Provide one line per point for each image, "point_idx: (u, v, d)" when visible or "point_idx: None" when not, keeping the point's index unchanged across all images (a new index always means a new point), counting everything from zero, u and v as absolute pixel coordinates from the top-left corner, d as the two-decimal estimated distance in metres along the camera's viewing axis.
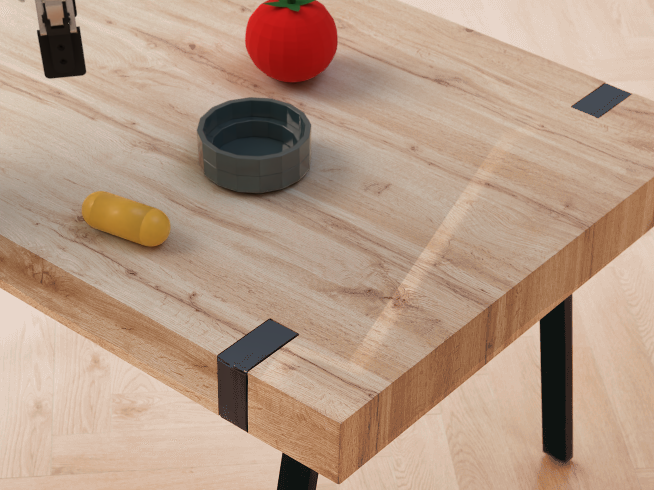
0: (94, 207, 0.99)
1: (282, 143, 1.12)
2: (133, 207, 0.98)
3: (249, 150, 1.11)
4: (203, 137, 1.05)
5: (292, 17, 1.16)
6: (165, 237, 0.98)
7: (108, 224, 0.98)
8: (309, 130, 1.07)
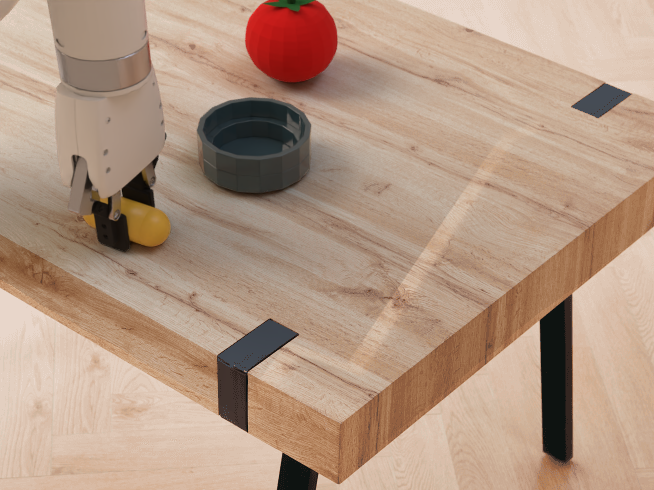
0: None
1: (282, 143, 1.12)
2: (133, 207, 0.98)
3: (249, 150, 1.11)
4: (203, 137, 1.05)
5: (292, 17, 1.16)
6: (165, 237, 0.98)
7: None
8: (309, 130, 1.07)
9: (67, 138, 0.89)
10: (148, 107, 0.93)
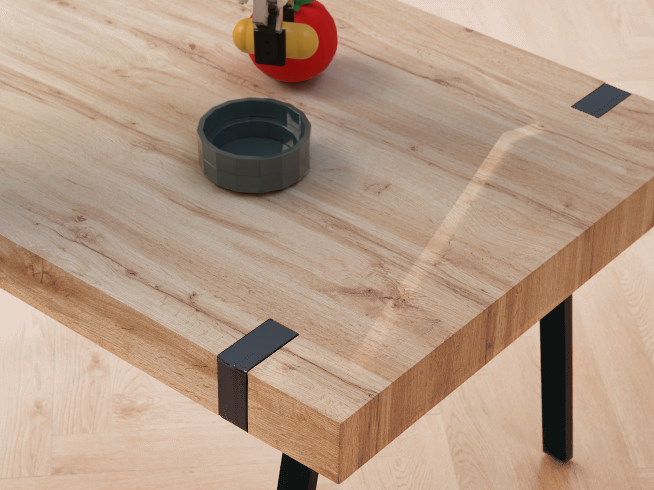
0: (249, 30, 1.09)
1: (282, 143, 1.12)
2: (285, 24, 1.10)
3: (249, 150, 1.11)
4: (203, 137, 1.05)
5: None
6: None
7: None
8: (309, 130, 1.07)
9: None
10: None
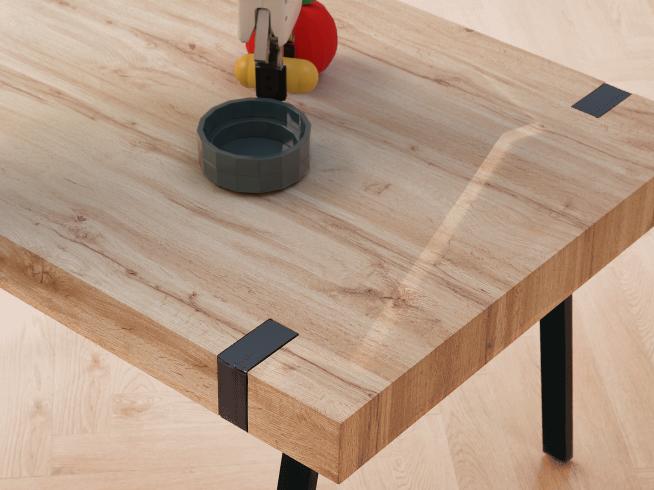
0: (250, 66, 1.12)
1: (282, 143, 1.12)
2: (285, 60, 1.12)
3: (249, 150, 1.11)
4: (203, 137, 1.05)
5: None
6: (316, 83, 1.13)
7: None
8: (309, 130, 1.07)
9: None
10: None
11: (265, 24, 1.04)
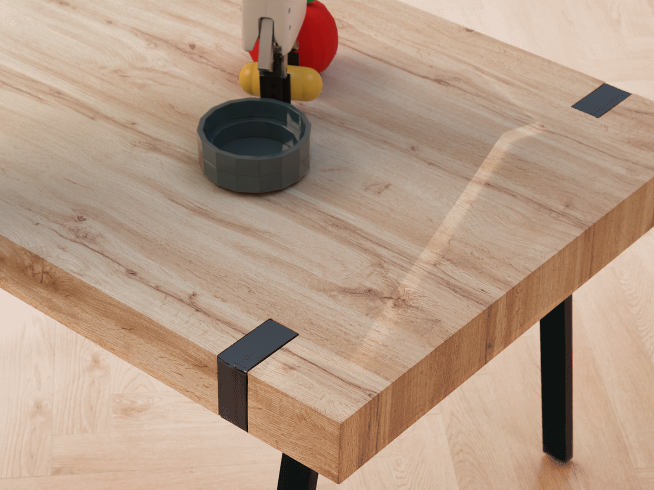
0: (255, 74, 1.13)
1: (282, 143, 1.12)
2: (290, 68, 1.13)
3: (249, 150, 1.11)
4: (203, 137, 1.05)
5: None
6: (321, 90, 1.14)
7: None
8: (309, 130, 1.07)
9: (256, 2, 1.03)
10: None
11: (269, 33, 1.05)
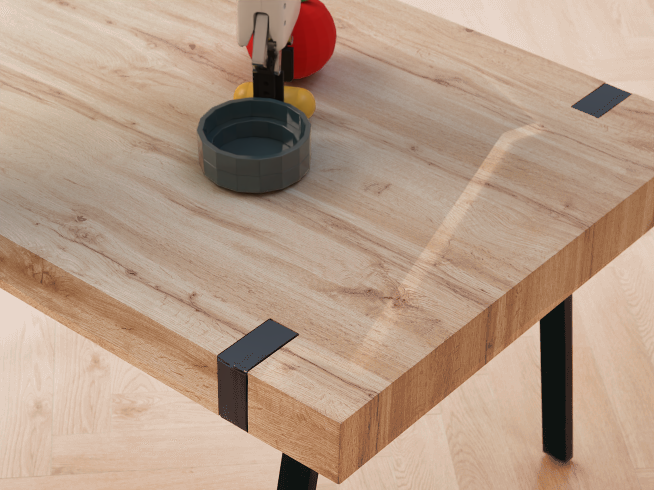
0: (249, 93, 1.14)
1: (282, 143, 1.12)
2: (284, 88, 1.15)
3: (249, 150, 1.11)
4: (203, 137, 1.05)
5: None
6: (314, 110, 1.16)
7: None
8: (309, 130, 1.07)
9: None
10: None
11: (264, 28, 1.05)
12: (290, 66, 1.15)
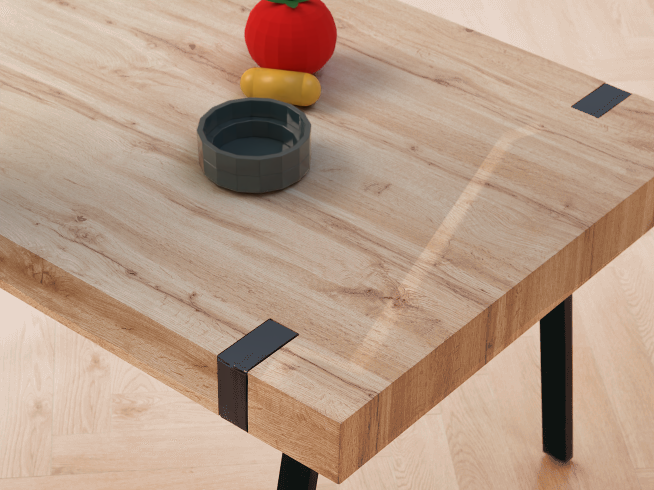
0: None
1: (282, 143, 1.12)
2: None
3: (249, 150, 1.11)
4: (203, 137, 1.05)
5: (289, 14, 1.17)
6: (319, 89, 1.17)
7: (275, 69, 1.18)
8: (309, 130, 1.07)
9: None
10: None
11: None
12: None
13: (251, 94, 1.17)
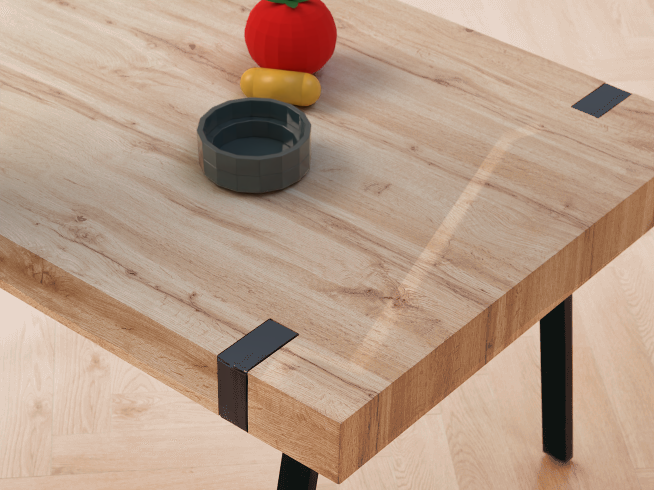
0: None
1: (282, 143, 1.12)
2: None
3: (249, 150, 1.11)
4: (203, 137, 1.05)
5: (289, 13, 1.17)
6: (319, 89, 1.17)
7: (275, 69, 1.18)
8: (309, 130, 1.07)
9: None
10: None
11: None
12: None
13: (251, 94, 1.17)
